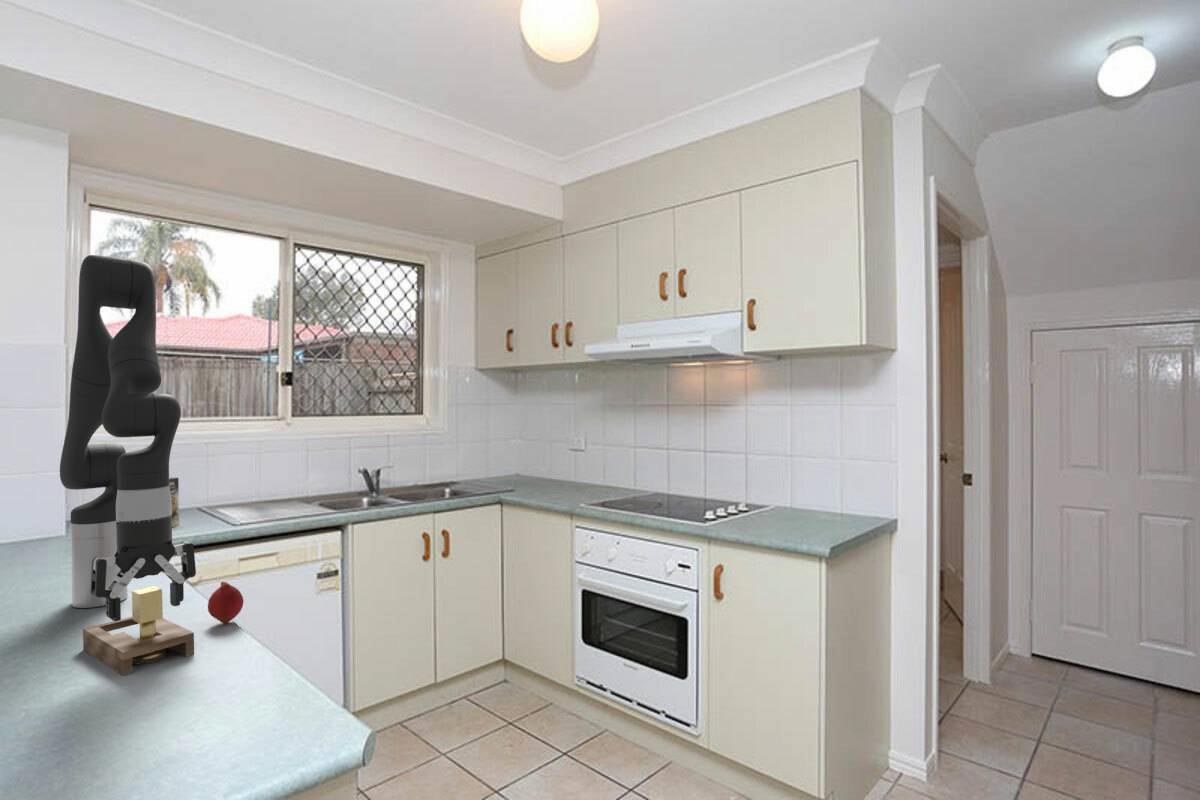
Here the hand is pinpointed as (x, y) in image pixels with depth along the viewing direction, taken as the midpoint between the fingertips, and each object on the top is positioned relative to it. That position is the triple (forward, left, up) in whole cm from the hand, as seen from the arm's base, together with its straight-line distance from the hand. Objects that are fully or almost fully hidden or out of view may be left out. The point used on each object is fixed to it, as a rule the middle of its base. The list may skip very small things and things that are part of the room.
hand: (146, 612), depth 106 cm
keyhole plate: (-4, 0, -7) cm, 8 cm away
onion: (-6, +15, -8) cm, 18 cm away
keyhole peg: (0, 0, -7) cm, 7 cm away
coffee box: (-118, +45, -8) cm, 126 cm away
